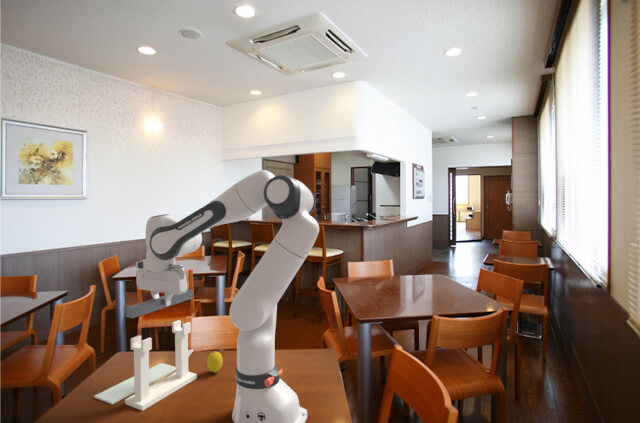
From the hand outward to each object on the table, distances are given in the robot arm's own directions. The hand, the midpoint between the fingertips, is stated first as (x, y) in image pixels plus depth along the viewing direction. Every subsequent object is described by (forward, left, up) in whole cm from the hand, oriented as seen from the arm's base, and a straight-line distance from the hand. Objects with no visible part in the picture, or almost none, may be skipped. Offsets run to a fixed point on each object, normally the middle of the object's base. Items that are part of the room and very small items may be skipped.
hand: (162, 304), depth 119 cm
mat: (+12, 0, -29) cm, 31 cm away
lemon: (-7, -17, -29) cm, 34 cm away
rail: (0, 0, -1) cm, 1 cm away
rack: (0, 0, -29) cm, 29 cm away
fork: (+11, -20, -30) cm, 37 cm away
